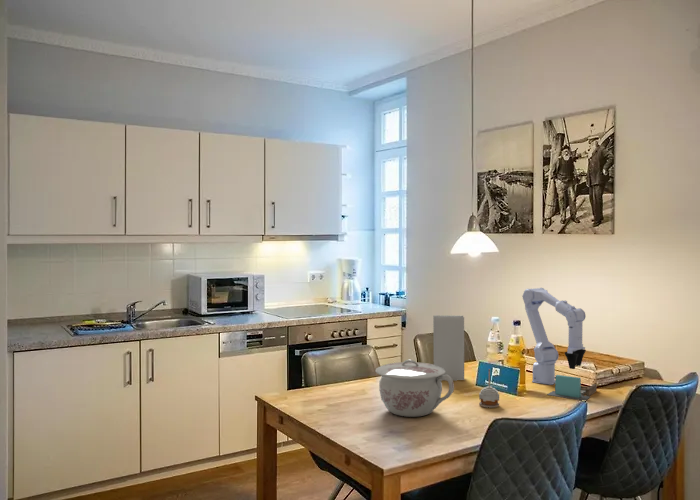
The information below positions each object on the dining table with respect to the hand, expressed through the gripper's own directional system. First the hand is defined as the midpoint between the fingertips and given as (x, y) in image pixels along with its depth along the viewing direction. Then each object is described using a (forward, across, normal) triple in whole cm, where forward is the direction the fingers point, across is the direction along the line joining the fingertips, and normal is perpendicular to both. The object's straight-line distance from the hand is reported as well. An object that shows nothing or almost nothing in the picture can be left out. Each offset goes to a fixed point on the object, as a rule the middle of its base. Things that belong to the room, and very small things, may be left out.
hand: (575, 367), depth 274 cm
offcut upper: (+10, -4, -1) cm, 11 cm away
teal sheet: (+10, -11, -1) cm, 15 cm away
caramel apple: (+11, -44, +19) cm, 50 cm away
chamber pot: (+11, -71, +40) cm, 82 cm away
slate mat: (+10, -11, -1) cm, 15 cm away
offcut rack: (+10, -1, -1) cm, 10 cm away
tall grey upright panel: (+11, -14, +55) cm, 58 cm away
